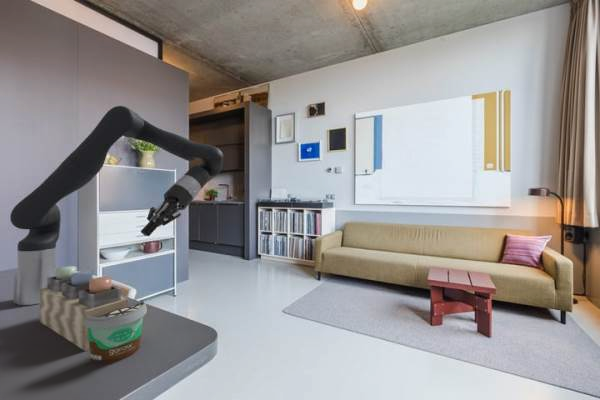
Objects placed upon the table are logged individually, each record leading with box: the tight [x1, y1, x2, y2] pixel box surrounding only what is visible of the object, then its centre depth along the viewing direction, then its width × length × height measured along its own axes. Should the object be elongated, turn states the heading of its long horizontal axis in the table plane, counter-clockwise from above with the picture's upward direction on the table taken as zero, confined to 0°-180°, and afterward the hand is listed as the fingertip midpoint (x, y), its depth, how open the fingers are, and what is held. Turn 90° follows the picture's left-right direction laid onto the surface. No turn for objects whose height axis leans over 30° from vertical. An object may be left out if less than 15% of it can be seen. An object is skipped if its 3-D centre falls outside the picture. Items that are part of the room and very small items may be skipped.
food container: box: [84, 299, 148, 364], centre depth 60 cm, size 12×6×10 cm, turn 148°
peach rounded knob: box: [89, 276, 112, 294], centre depth 67 cm, size 4×4×3 cm
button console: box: [39, 275, 129, 352], centre depth 73 cm, size 28×9×12 cm, turn 59°
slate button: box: [71, 270, 94, 287], centre depth 73 cm, size 4×4×3 cm
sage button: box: [55, 265, 78, 281], centre depth 78 cm, size 4×4×3 cm
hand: (144, 234), depth 77 cm, fingers closed
